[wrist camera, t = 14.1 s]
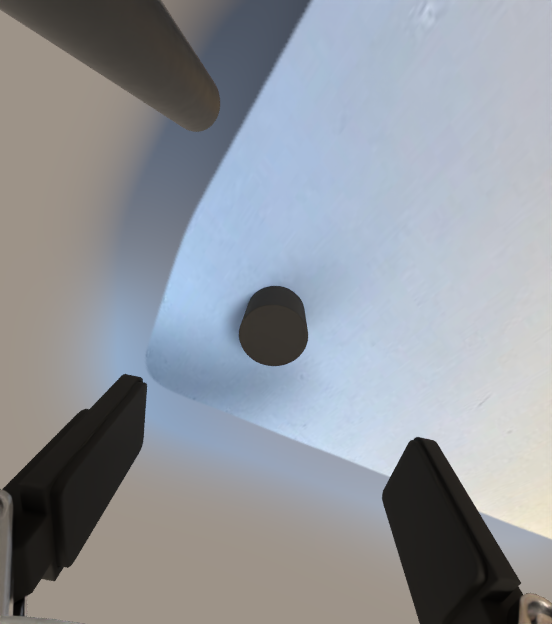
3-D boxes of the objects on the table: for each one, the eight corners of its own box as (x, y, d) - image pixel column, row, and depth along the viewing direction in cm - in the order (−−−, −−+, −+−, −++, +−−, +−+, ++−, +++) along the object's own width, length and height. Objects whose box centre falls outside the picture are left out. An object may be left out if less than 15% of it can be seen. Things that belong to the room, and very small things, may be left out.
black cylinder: (239, 293, 19) (229, 313, 16) (297, 279, 19) (299, 297, 15) (255, 344, 21) (249, 372, 17) (310, 332, 20) (314, 359, 17)
